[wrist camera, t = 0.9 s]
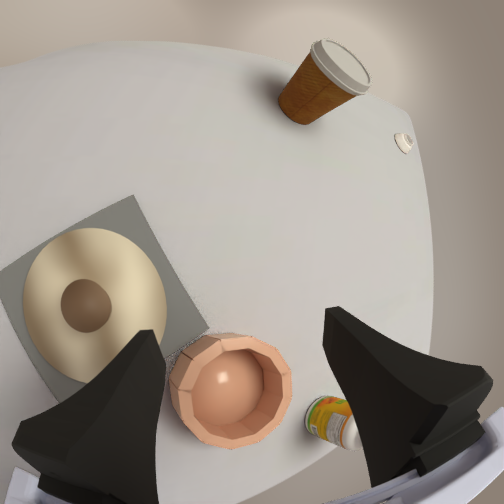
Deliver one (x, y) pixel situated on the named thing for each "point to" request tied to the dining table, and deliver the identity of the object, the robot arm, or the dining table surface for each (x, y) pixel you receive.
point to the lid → (91, 300)
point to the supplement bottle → (333, 422)
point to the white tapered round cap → (404, 142)
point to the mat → (139, 232)
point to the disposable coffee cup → (324, 82)
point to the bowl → (230, 389)
